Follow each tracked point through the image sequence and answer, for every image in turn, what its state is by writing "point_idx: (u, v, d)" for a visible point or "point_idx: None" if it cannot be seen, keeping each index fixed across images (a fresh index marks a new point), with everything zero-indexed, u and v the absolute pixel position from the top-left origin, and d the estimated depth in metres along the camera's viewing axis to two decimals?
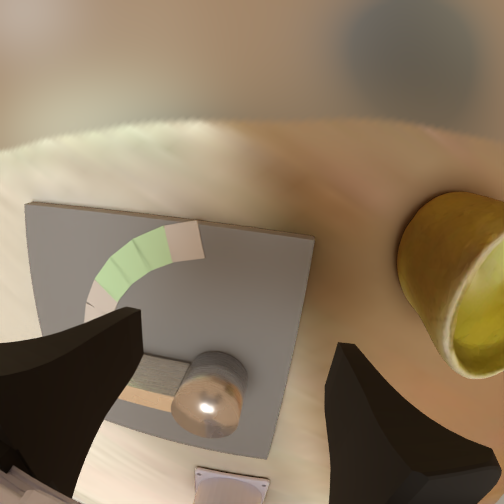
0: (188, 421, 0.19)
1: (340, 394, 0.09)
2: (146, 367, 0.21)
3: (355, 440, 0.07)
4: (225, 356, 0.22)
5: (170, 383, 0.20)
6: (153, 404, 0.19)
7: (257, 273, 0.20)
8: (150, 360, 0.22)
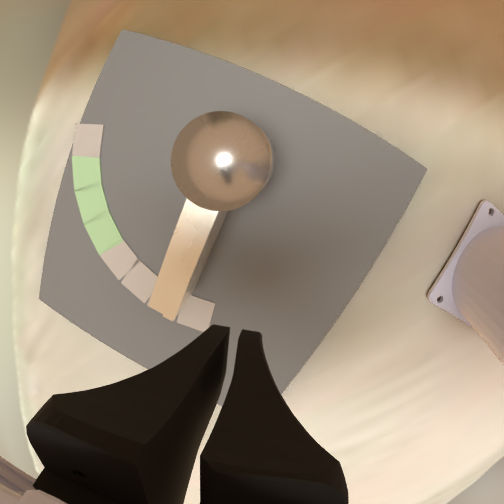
0: (225, 190, 0.14)
1: None
2: None
3: None
4: None
5: None
6: (198, 236, 0.15)
7: (130, 79, 0.17)
8: None
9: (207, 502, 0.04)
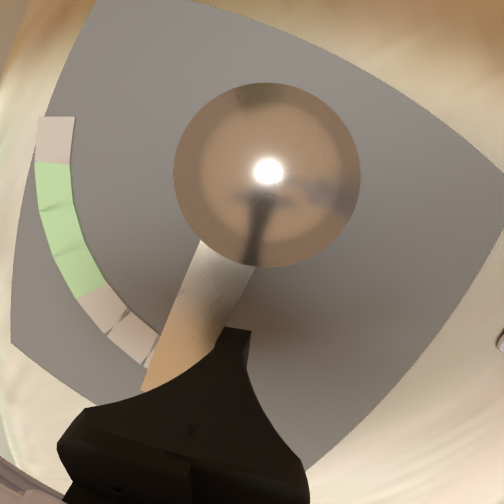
0: (274, 231, 0.08)
1: None
2: None
3: None
4: None
5: None
6: (221, 302, 0.09)
7: (114, 50, 0.11)
8: None
9: None
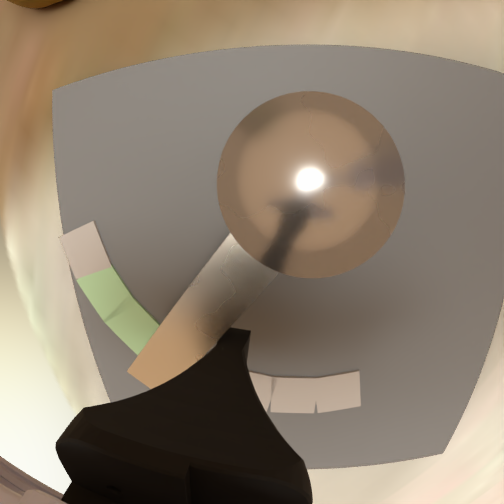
0: (309, 242, 0.07)
1: None
2: None
3: None
4: None
5: (227, 236, 0.10)
6: (235, 300, 0.09)
7: (96, 144, 0.12)
8: None
9: None
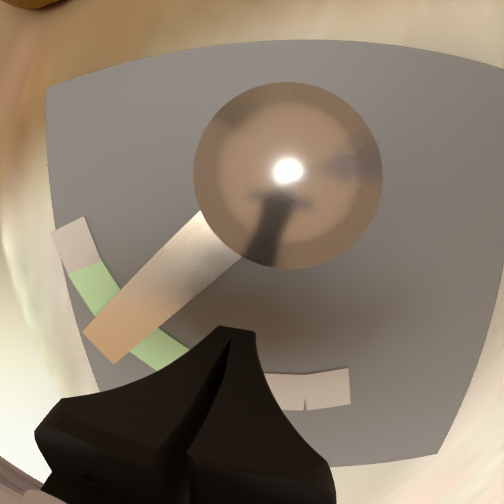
0: (275, 231, 0.08)
1: None
2: None
3: None
4: None
5: None
6: (194, 277, 0.09)
7: (87, 140, 0.12)
8: None
9: (195, 499, 0.04)
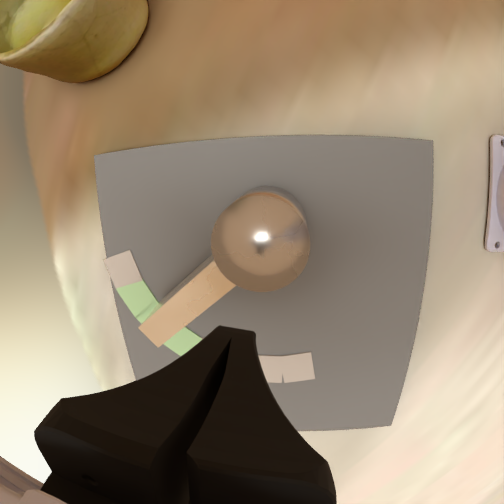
0: (254, 273, 0.15)
1: None
2: (190, 276, 0.18)
3: None
4: (249, 190, 0.18)
5: (212, 258, 0.17)
6: (211, 295, 0.16)
7: (131, 198, 0.19)
8: (193, 271, 0.19)
9: (195, 499, 0.04)
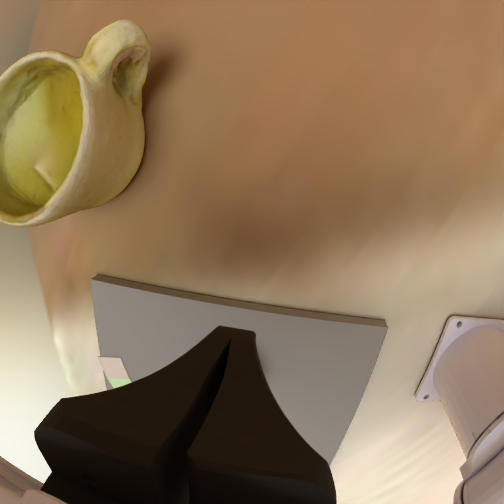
0: None
1: None
2: None
3: None
4: None
5: None
6: None
7: (122, 323, 0.22)
8: None
9: (195, 499, 0.04)
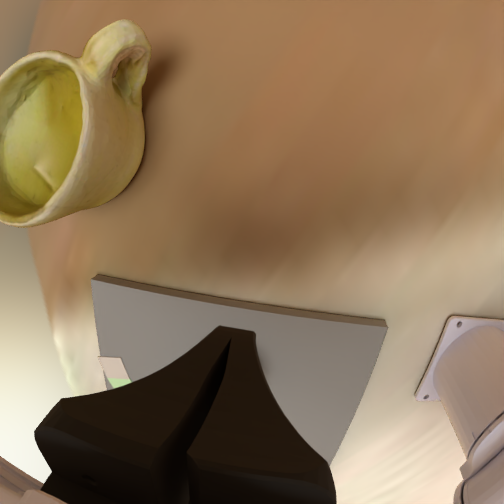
0: None
1: None
2: None
3: None
4: None
5: None
6: None
7: (122, 323, 0.22)
8: None
9: (195, 499, 0.04)
